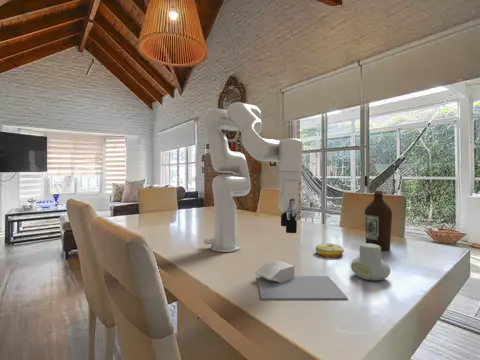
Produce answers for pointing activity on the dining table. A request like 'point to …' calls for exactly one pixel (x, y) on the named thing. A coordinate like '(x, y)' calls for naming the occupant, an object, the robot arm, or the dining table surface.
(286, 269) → the white paper carton
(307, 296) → the mat
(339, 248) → the decorated donut
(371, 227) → the olive oil
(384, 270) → the air freshener
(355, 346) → the dining table surface
